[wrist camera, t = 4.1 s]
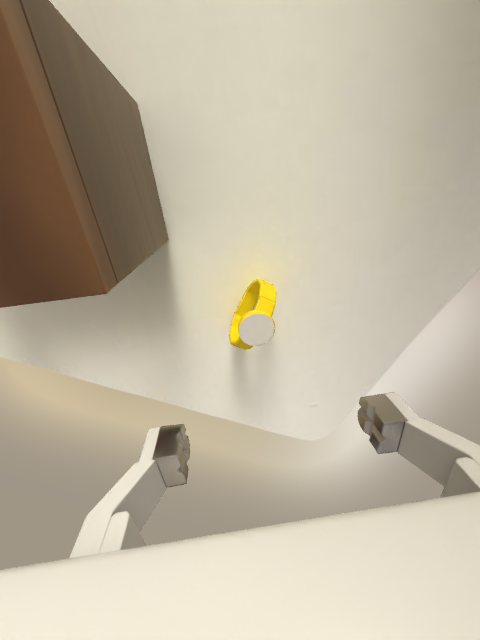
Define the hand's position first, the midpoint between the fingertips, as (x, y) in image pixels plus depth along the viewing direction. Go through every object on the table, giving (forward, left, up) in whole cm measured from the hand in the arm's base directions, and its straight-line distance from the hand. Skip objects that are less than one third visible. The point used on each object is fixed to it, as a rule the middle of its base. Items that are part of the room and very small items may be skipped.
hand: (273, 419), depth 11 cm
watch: (0, 0, -14) cm, 14 cm away
